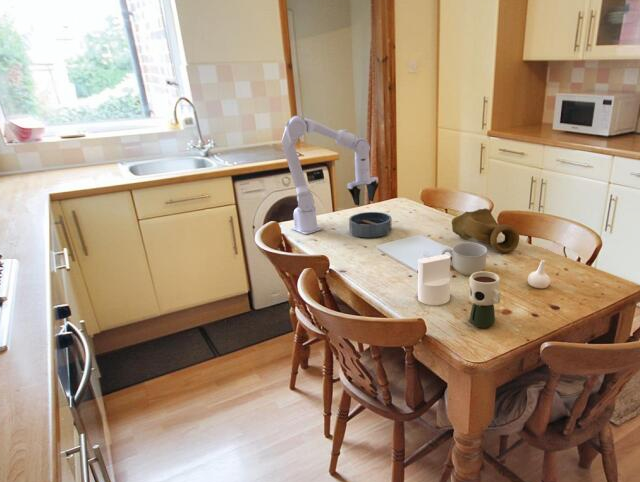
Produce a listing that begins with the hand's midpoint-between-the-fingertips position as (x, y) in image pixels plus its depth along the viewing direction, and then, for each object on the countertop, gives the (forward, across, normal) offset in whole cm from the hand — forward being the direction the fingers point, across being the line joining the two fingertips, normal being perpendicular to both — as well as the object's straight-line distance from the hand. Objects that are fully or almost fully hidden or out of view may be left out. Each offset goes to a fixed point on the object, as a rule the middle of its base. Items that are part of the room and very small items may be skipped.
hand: (364, 202), depth 188 cm
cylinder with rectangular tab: (+10, -29, -63) cm, 70 cm away
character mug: (+10, -31, -81) cm, 87 cm away
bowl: (+9, -4, -8) cm, 13 cm away
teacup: (+10, -9, -58) cm, 59 cm away
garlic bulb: (+10, -2, -80) cm, 81 cm away
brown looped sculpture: (+10, +15, -48) cm, 51 cm away
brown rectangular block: (+9, -4, -8) cm, 13 cm away
